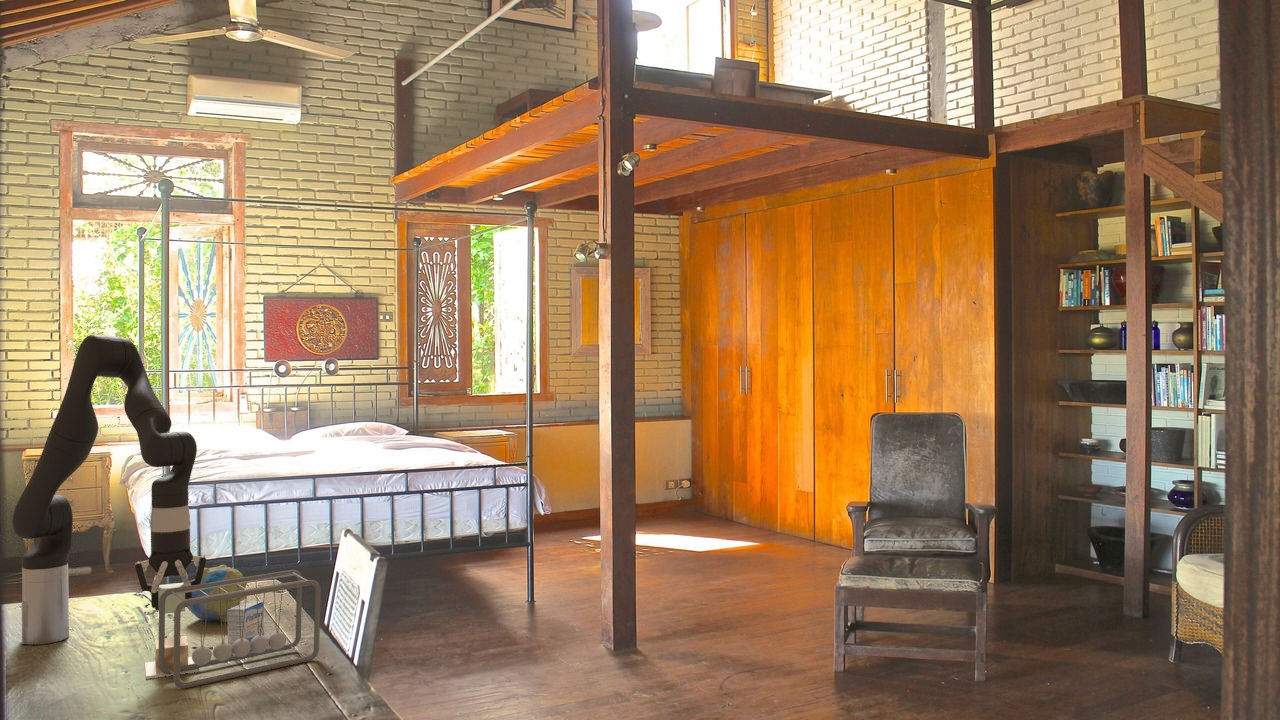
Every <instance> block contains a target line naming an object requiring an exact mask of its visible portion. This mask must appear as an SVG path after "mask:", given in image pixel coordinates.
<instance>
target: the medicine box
mask: <svg viewBox="0 0 1280 720" xmlns="http://www.w3.org/2000/svg"><path fill="white" fill-rule="evenodd" d="M257 601H258V615H257ZM264 608H265V607H264ZM264 608H263V601H259V600H249V601H248V600H246V609H245V602H243V603H240V620H239V605H238V606H235V607H233V608H231V609H228V610H227V619H228V622H227V643H229V644H230V645H231V647H232V645H233V643H234V642H235V641H236V640H238V639H240V624H241V638H242V631H243V639H246V640H248V641H249V642H251V640H252V639H253V638H254V637H255V636H257V635H259V634H260V630H261V635H263V636H265V609H264ZM262 610H263V618H262ZM244 611H245V619H244ZM258 619H259V633H258ZM261 620H262V628H261ZM243 621H244V629H243Z"/></svg>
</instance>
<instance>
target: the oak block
mask: <svg viewBox="0 0 1280 720" xmlns="http://www.w3.org/2000/svg"><path fill="white" fill-rule="evenodd" d="M158 649H159V638H156V639H154V661H155V665H156V673H162V672H161V671H160V669H159V666H158ZM188 657H189V643H188V638H187V636H186V635H180V666H184V665H188ZM164 665H165V667H166V668H174V636H169V637H165V653H164Z"/></svg>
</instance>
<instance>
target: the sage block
mask: <svg viewBox="0 0 1280 720" xmlns="http://www.w3.org/2000/svg"><path fill="white" fill-rule="evenodd" d="M179 587H185V585H184V583H183V582H177V583H176V582H175V583H167V584H160V585H159V588H158V597H159V599H160V597H161V595H162V594H163V593H164V592H165V591H166V590H169V589H172V588H179ZM177 595H179V596H180V597H181V598H183V599H184V600H185V593H182V594H177ZM181 602H183V601H182V600H180V599H179V598H178V597H176V596H175V595H174V594H171V595H169V596H167V598H166V599H165V615H166V614H172V613H173V614H174V613H175V609H176V607H177V606H178V605H179V604H180V603H181ZM157 611H158V612H159V610H157ZM182 612H183V613H184V612H186V607H184V608H183V609H182V610H181V613H182Z"/></svg>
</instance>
